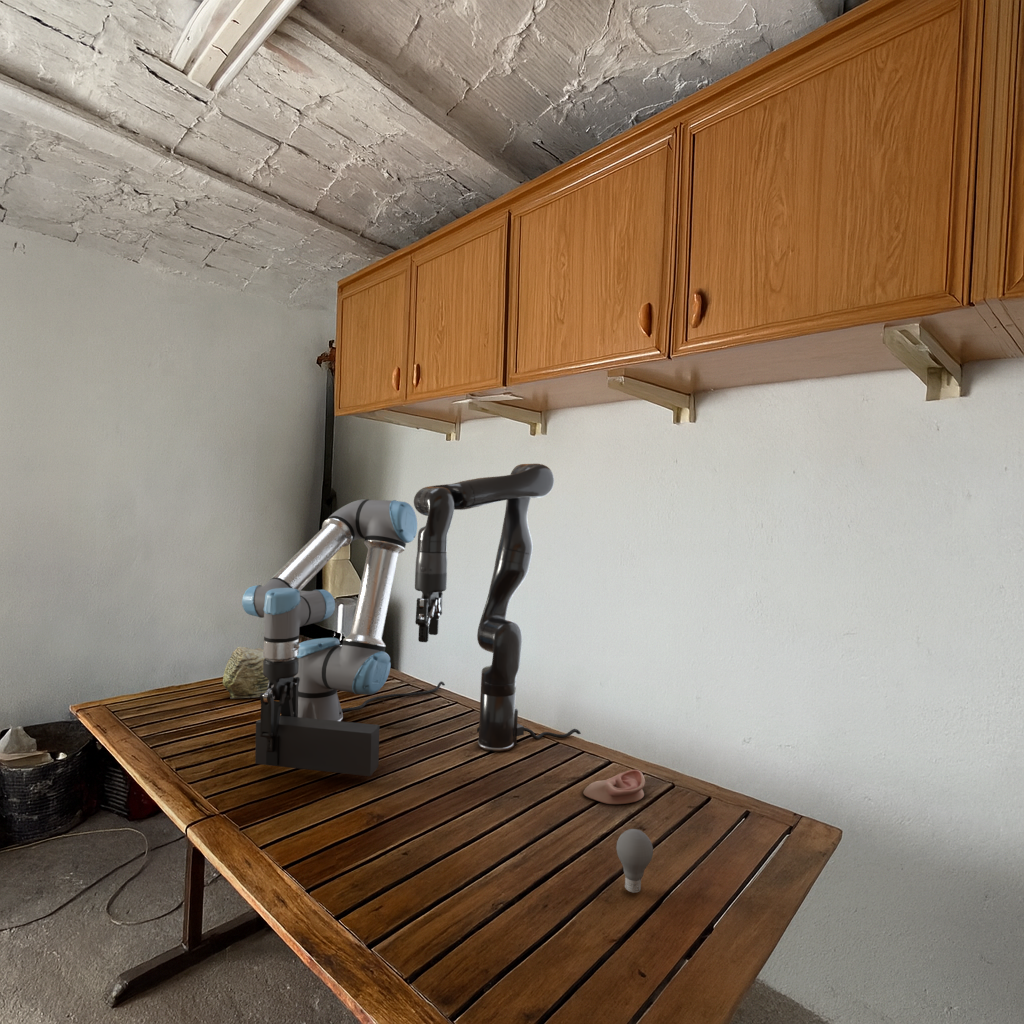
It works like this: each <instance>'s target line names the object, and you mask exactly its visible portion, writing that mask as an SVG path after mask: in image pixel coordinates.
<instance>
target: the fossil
mask: <svg viewBox="0 0 1024 1024" xmlns="http://www.w3.org/2000/svg"><path fill="white" fill-rule="evenodd" d="M263 649H264V648H260V647H258V648H251V647H247V646H246V647H245V646H238V647H237V648H236V649H235V650H233V651H232V653H231V656H230V657H229V659H228V660H227V663H226V666H225V668H224V671H223V675H222V676H223V677H222V685H223V687H224V688H225V690H226V691H228V693H229V698H230V699H250V698H260V694H261V693H265V692H266V691H267V686H268V682H269V680H268V678H267V677H265V676H264V675H263V661H264V659H265V658H264V657H263Z"/></svg>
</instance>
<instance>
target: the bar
mask: <svg viewBox="0 0 1024 1024" xmlns="http://www.w3.org/2000/svg"><path fill="white" fill-rule="evenodd" d="M260 722H261V718H260V719H258V720H257V721H256V722H255V751H254V752H255V753H254V754H255V755H254V756H255V757H254V759H255V760H254V763H255V764H256V765H264V766H268V765H267V764H266V739H267V738H266V737H261V736H260ZM277 735H279V736H280V741H279V765H270V766H273V767H281V768H288V769H289V768H291V769H300V770H309V771H318V772H328V773H334V774H335V773H337V774H345V775H354V776H355V775H357V776H363V777H371V776H372V775H373V774H374V773H375V771H376V770H377V769H378V768H379V763H380V762H379V760H380V759H379V758H380V724H371V723H362V722H353V721H344V720H343V721H332V720H322V719H311V718H301V717H291V716H281V715H280V720H279V727H278V734H277Z"/></svg>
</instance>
